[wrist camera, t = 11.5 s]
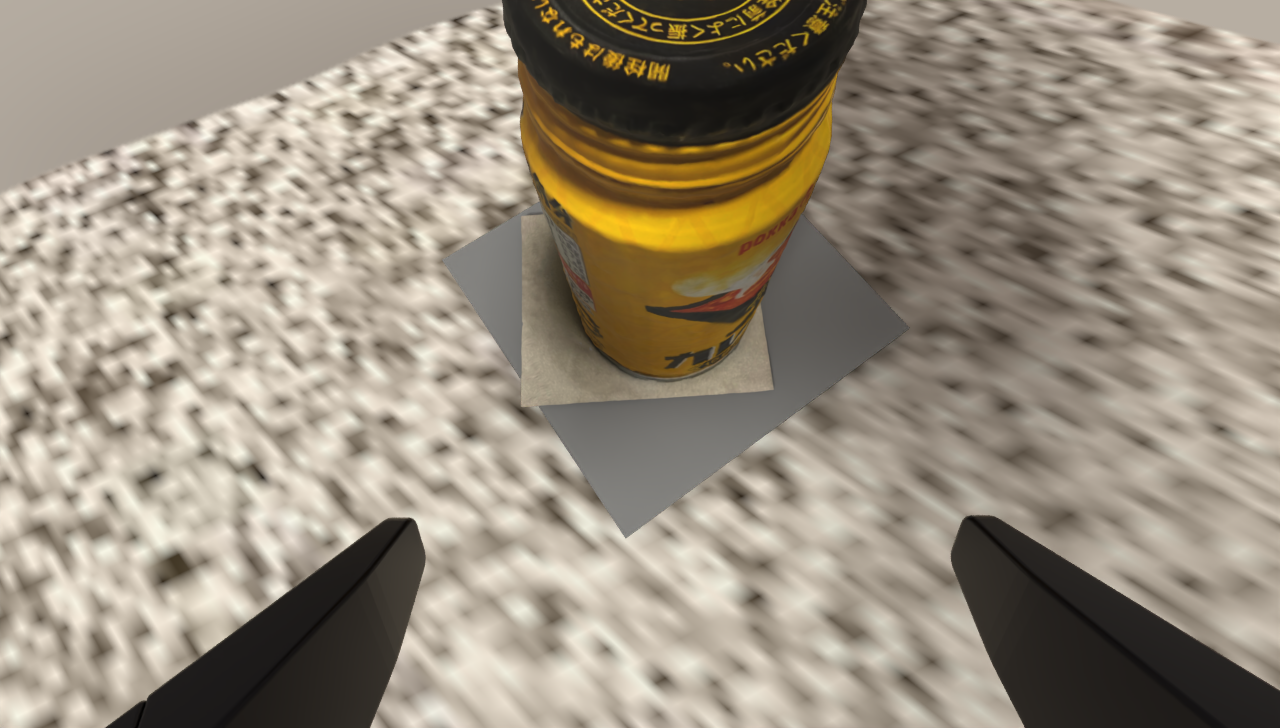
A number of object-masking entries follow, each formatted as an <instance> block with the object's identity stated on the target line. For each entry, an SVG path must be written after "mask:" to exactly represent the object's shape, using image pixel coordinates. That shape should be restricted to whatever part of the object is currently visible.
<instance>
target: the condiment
mask: <svg viewBox="0 0 1280 728" xmlns="http://www.w3.org/2000/svg"><path fill="white" fill-rule="evenodd" d="M502 3H503V20H504V25H505V28H506V32H507V34H508V35H509V37H510V38H511V42H512V47H513V49H514V51H515V53H516V55H517V57H518V77H519V81H520V85H521V88H522V92H523V108H522V112H521V116H520V129H521V139H522V145H523V150H524V153H525V157H526V160H527V163H528V166H529V170H530V173H531V176H532V179H533V184H534V186H535V188H536V191H537V194H538V197H539V200H540V205H541V208H542V211H543V214H541V215H527V216H521V234H522V322H523V326H522V347H521V355H522V375H521V407H530V406H541V405H561V404H572V403H585V402H604V401H614V400H617V401H620V400H636V399H656V398H671V397H684V396H700V395H718V394H728V393H745V392H758V391H767V390H774V388H773V382H772V374H771V368H770V361H769V354H768V349H767V341H766V337H765V330H764V324H763V316H762V310H761V303H760V302H761V300H762V298H763V296H764V295H765V293H766V290H767V286H768V283H769V281H770V279H771V276H772V274H773V273H774V270H775V268H776V266H777V263H778V262H779V260H780V257H781V255H782V253H783V250H784V249H785V247H786V245H787V243H788V240H789V238H790V236H791V234H792V231H793V229H794V228H795V226H796V224H797V222H798V220H799V218H800V215H801V213H802V212H803V211H804V209H805V207H806V205H807V203H808V201H809V199H810V197H811V194H812V192H813V189H814V186H815V184H816V182H817V180H818V178H819V175H820V173H821V170H822V168H823V165H824V162H825V160H826V157H827V154H828V152H829V147H830V141H831V137H832V99H833V96H834V92H835V87H836V79H837V75H838V71H839V70H840V68H841V66H842V64H843V63H844V61H845V58H846V55H847V53H848V52H849V50H850V48H851V47H852V45H853V44H854V41H855V39H856V37H857V35H858V33H859V23H860V19H861V17H862V15H863V13H864V10H865V8H866V5H867V0H502ZM579 342H580V343H582V344H580V343H579ZM589 348H591V349H592V350H590V349H589Z"/></svg>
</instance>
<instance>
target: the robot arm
mask: <svg viewBox="0 0 1280 728" xmlns="http://www.w3.org/2000/svg"><path fill="white" fill-rule="evenodd" d="M425 559H426V556H425V550H424V547H423V543H422V540H421V537H420V533H419V530H418V526H417V524H416V521H415V520H414V519H412V518H388V519H386V520H384V521H383V522H381V523H380V524H379V525H377V526H376V527H375V528H373V529H372V530H371V531H369V532H368V533H367V534H365V535H364V536H362V537H361V538H360V539H358V540H357V541H356V542H354V543H353V544H352V545H350V546H349V547H348V548H346V549H345V550H344V551H342V552H341V553H340V554H338V555H337V556H336V557H334V558H333V559H332V560H330V561H329V562H328V563H326V564H325V565H323V566H322V567H321V568H319V569H318V570H317V571H315V572H314V573H313V574H311V575H310V576H309V577H307V578H306V579H305V580H303V581H302V582H301V583H299V584H298V585H297V586H295V587H294V588H293V589H291V590H290V591H289V592H287V593H286V594H284V595H283V596H282V597H280V598H279V599H278V600H276V601H275V602H274V603H272V604H271V605H270V606H268V607H267V608H266V609H264V610H263V611H262V612H260V613H259V614H258V615H256V616H255V617H254V618H252V619H251V620H250V621H248V622H247V623H245V624H244V625H243V626H241V627H240V628H239V629H237V630H236V631H235V632H233V633H232V634H231V635H229V636H228V637H227V638H225V639H224V640H223V641H221V642H220V643H219V644H217V645H216V646H215V647H213V648H212V649H211V650H209V651H208V652H207V653H205V654H204V655H202V656H201V657H200V658H198V659H197V660H196V661H194V662H193V663H192V664H190V665H189V666H188V667H186V668H185V669H184V670H182V671H181V672H180V673H178V674H177V675H176V676H174V677H173V678H172V679H170V680H169V681H167V682H166V683H165V684H163V685H162V686H161V687H159V688H158V689H157V690H155V691H154V692H153V693H151V694H150V695H149V696H148V698H147V701H141V702H139V703H138V704H136V705H135V706H134V707H132V708H131V709H130V710H128V711H127V712H126V713H124V714H123V715H121V716H120V717H119V718H117V719H116V720H115V721H113V722H112V723H111V724H109V725H108V726H107V727H105V728H370V726H371V724H372V722H373V719H374V717H375V714H376V712H377V709H378V707H379V704H380V702H381V699H382V697H383V694H384V692H385V689H386V687H387V684H388V682H389V680H390V677H391V674H392V672H393V669H394V667H395V664H396V661H397V658H398V655H399V652H400V649H401V646H402V643H403V639H404V636H405V632H406V629H407V626H408V622H409V619H410V615H411V612H412V608H413V605H414V602H415V598H416V595H417V591H418V588H419V584H420V581H421V578H422V574H423V571H424V567H425ZM951 562H952V566H953V569H954V572H955V574H956V577H957V579H958V582H959V584H960V587H961V589H962V592H963V594H964V597H965V599H966V602H967V604H968V607H969V609H970V611H971V614H972V616H973V619H974V621H975V624H976V626H977V629H978V631H979V634H980V636H981V639H982V641H983V644H984V646H985V648H986V651H987V653H988V655H989V658H990V660H991V662H992V664H993V666H994V668H995V670H996V672H997V674H998V676H999V678H1000V680H1001V682H1002V684H1003V686H1004V688H1005V690H1006V692H1007V694H1008V696H1009V698H1010V700H1011V701H1012V703H1013V705H1014V707H1015V709H1016V711H1017V713H1018V715H1019V717H1020V719H1021V721H1022V723H1023V725H1024V727H1025V728H1280V690H1278V689H1277V688H1275V687H1273V686H1272V685H1270V684H1268V683H1267V682H1265V681H1263V680H1262V679H1260V678H1259V677H1257V676H1255V675H1254V674H1252V673H1250V672H1249V671H1247V670H1245V669H1244V668H1242V667H1241V666H1239V665H1237V664H1236V663H1234V662H1232V661H1231V660H1229V659H1227V658H1226V657H1224V656H1223V655H1221V654H1219V653H1218V652H1216V651H1214V650H1213V649H1211V648H1210V647H1208V646H1206V645H1205V644H1203V643H1201V642H1200V641H1198V640H1196V639H1195V638H1193V637H1192V636H1190V635H1188V634H1187V633H1185V632H1183V631H1182V630H1180V629H1178V628H1177V627H1175V626H1174V625H1172V624H1170V623H1169V622H1167V621H1165V620H1164V619H1162V618H1160V617H1159V616H1157V615H1156V614H1154V613H1152V612H1151V611H1149V610H1147V609H1146V608H1144V607H1142V606H1141V605H1139V604H1138V603H1136V602H1134V601H1133V600H1131V599H1129V598H1128V597H1126V596H1124V595H1123V594H1121V593H1120V592H1118V591H1116V590H1115V589H1113V588H1111V587H1110V586H1108V585H1106V584H1105V583H1103V582H1102V581H1100V580H1098V579H1097V578H1095V577H1093V576H1092V575H1090V574H1089V573H1087V572H1085V571H1084V570H1082V569H1080V568H1079V567H1077V566H1075V565H1074V564H1072V563H1071V562H1069V561H1067V560H1066V559H1064V558H1062V557H1061V556H1059V555H1057V554H1056V553H1054V552H1053V551H1051V550H1049V549H1048V548H1046V547H1044V546H1043V545H1041V544H1039V543H1038V542H1036V541H1035V540H1033V539H1031V538H1030V537H1028V536H1026V535H1025V534H1023V533H1021V532H1020V531H1018V530H1017V529H1015V528H1013V527H1012V526H1010V525H1008V524H1007V523H1005V522H1003V521H1002V520H1000V519H998V518H997V517H994V516H990V515H970V516H966V517H965V518H964V519H963V520H962V522H961V525H960V528H959V530H958V533H957V536H956V539H955V542H954V544H953V547H952V550H951Z"/></svg>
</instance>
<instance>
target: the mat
mask: <svg viewBox="0 0 1280 728" xmlns="http://www.w3.org/2000/svg"><path fill="white" fill-rule="evenodd" d="M541 214H543V211H542V208H541V205H540V202H538V203H536V204H535V205H533V206H531V207H530V208H528V209H526V210H525V211H523V212H521V213H520V214H518V215H516V216H515V217H513V218H511V219H510V220H508V221H506V222H505V223H503V224H501V225H500V226H498V227H496V228H495V229H493V230H491V231H490V232H488V233H486V234H485V235H483V236H481V237H480V238H478V239H476V240H475V241H473V242H471V243H470V244H468V245H466V246H465V247H463V248H461V249H460V250H458V251H456V252H455V253H453V254H451V255H450V256H448V257H446V258H445V259H443V262H444V263H445V265H446V266H447V268H448V269H449V271H450V273H451V274H452V276H453V277H454V279H455V280H456V282H457V283H458V285H459V286H460V288H461V289H462V291H463V292H464V294H465V295H466V297H467V298H468V300H469V301H470V303H471V304H472V306H473V307H474V309H475V310H476V312H477V313H478V315H479V317H480V318H481V320H482V321H483V323H484V324H485V326H486V327H487V329H488V330H489V332H490V333H491V335H492V336H493V338H494V339H495V341H496V342H497V344H498V345H499V347H500V348H501V350H502V351H503V353H504V354H505V356H506V358H507V359H508V361H509V362H510V364H511V365H512V367H513V368H514V370H515V371H516V373H517V374H518V376H519V377H520V379H521V375H522V355H521V347H522V326H523V322H522V234H521V216H527V215H541ZM760 303H761V310H762V316H763V324H764V330H765V337H766V341H767V349H768V354H769V361H770V368H771V374H772V382H773V388H774V390H767V391H758V392H745V393H728V394H718V395H700V396H684V397H671V398H656V399H636V400H620V401H617V400H614V401H604V402H585V403H572V404H561V405H541V406H539V408H540V409H541V411H542V412H543V414H544V415H545V417H546V418H547V420H548V421H549V423H550V424H551V426H552V427H553V429H554V430H555V432H556V433H557V435H558V436H559V438H560V439H561V441H562V443H563V444H564V446H565V447H566V449H567V450H568V452H569V453H570V455H571V456H572V458H573V459H574V461H575V462H576V464H577V465H578V467H579V468H580V470H581V471H582V473H583V474H584V476H585V477H586V479H587V480H588V482H589V483H590V485H591V487H592V488H593V490H594V491H595V493H596V494H597V496H598V497H599V499H600V500H601V502H602V503H603V505H604V506H605V508H606V509H607V511H608V512H609V514H610V515H611V517H612V518H613V520H614V521H615V523H616V524H617V526H618V527H619V529H620V531H621V532H622V534H623V535H624V537H625V538H627V537H628V536H630V535H631V534H632V533H634V532H635V531H637V530H638V529H639V528H641V527H642V526H643V525H645V524H646V523H647V522H649V521H650V520H651V519H653V518H654V517H655V516H657V515H658V514H659V513H661V512H662V511H664V510H665V509H666V508H668V507H669V506H670V505H672V504H673V503H674V502H676V501H677V500H678V499H680V498H681V497H682V496H684V495H685V494H687V493H688V492H689V491H691V490H692V489H693V488H695V487H696V486H697V485H699V484H700V483H701V482H703V481H704V480H705V479H707V478H708V477H709V476H711V475H712V474H714V473H715V472H716V471H718V470H719V469H720V468H722V467H723V466H724V465H726V464H727V463H728V462H730V461H731V460H732V459H734V458H735V457H737V456H738V455H739V454H741V453H742V452H743V451H745V450H746V449H747V448H749V447H750V446H751V445H753V444H754V443H755V442H757V441H758V440H759V439H761V438H762V437H764V436H765V435H766V434H768V433H769V432H770V431H772V430H773V429H774V428H776V427H777V426H778V425H780V424H781V423H782V422H784V421H785V420H787V419H788V418H789V417H791V416H792V415H793V414H795V413H796V412H797V411H799V410H800V409H801V408H803V407H804V406H805V405H807V404H808V403H809V402H811V401H812V400H814V399H815V398H816V397H818V396H819V395H820V394H822V393H823V392H824V391H826V390H827V389H828V388H830V387H831V386H832V385H834V384H835V383H837V382H838V381H839V380H841V379H842V378H843V377H845V376H846V375H847V374H849V373H850V372H851V371H853V370H854V369H855V368H857V367H858V366H859V365H861V364H862V363H864V362H865V361H866V360H868V359H869V358H870V357H872V356H873V355H874V354H876V353H877V352H878V351H880V350H881V349H882V348H884V347H885V346H887V345H888V344H889V343H891V342H892V341H893V340H895V339H896V338H897V337H899V336H900V335H901V334H903V333H904V332H905V331H907V330H908V329H909V327H908V326H907V325H906V324H905V323H904V321H903V320H902V319H901V318H900V317H899V316H898V315H897V314H896V313H895V312H894V311H893V310H892V309H891V308H890V307H889V306H888V304H887V303H886V302H885V301H884V300H883V299H882V298H881V297H880V296H879V295H878V294H877V293H876V292H875V291H874V290H873V289H872V287H871V286H870V285H869V284H868V283H867V282H866V281H865V280H864V279H863V278H862V277H861V276H860V275H859V274H858V273H857V272H856V270H855V269H854V268H853V267H852V266H851V265H850V264H849V263H848V262H847V261H846V260H845V259H844V258H843V257H842V256H841V255H840V253H839V252H838V251H837V250H836V249H835V248H834V247H833V246H832V245H831V244H830V243H829V242H828V241H827V240H826V239H825V238H824V236H823V235H822V234H821V233H820V232H819V231H818V230H817V229H816V228H815V227H814V226H813V225H812V224H811V223H810V222H809V221H808V219H807V218H806V217H805V216H804V215H803V214H802V213H801V215H800V218H799V220H798V222H797V224H796V226H795V228H794V229H793V231H792V234H791V236H790V238H789V240H788V243H787V245H786V247H785V249H784V250H783V253H782V255H781V257H780V260H779V262H778V263H777V266H776V268H775V270H774V273H773V274H772V276H771V279H770V281H769V283H768V286H767V290H766V293H765V295H764V296H763V298H762V300H761V302H760ZM579 343H580V342H579ZM580 344H582V343H580ZM589 349H590V350H592V349H591V348H589Z"/></svg>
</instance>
